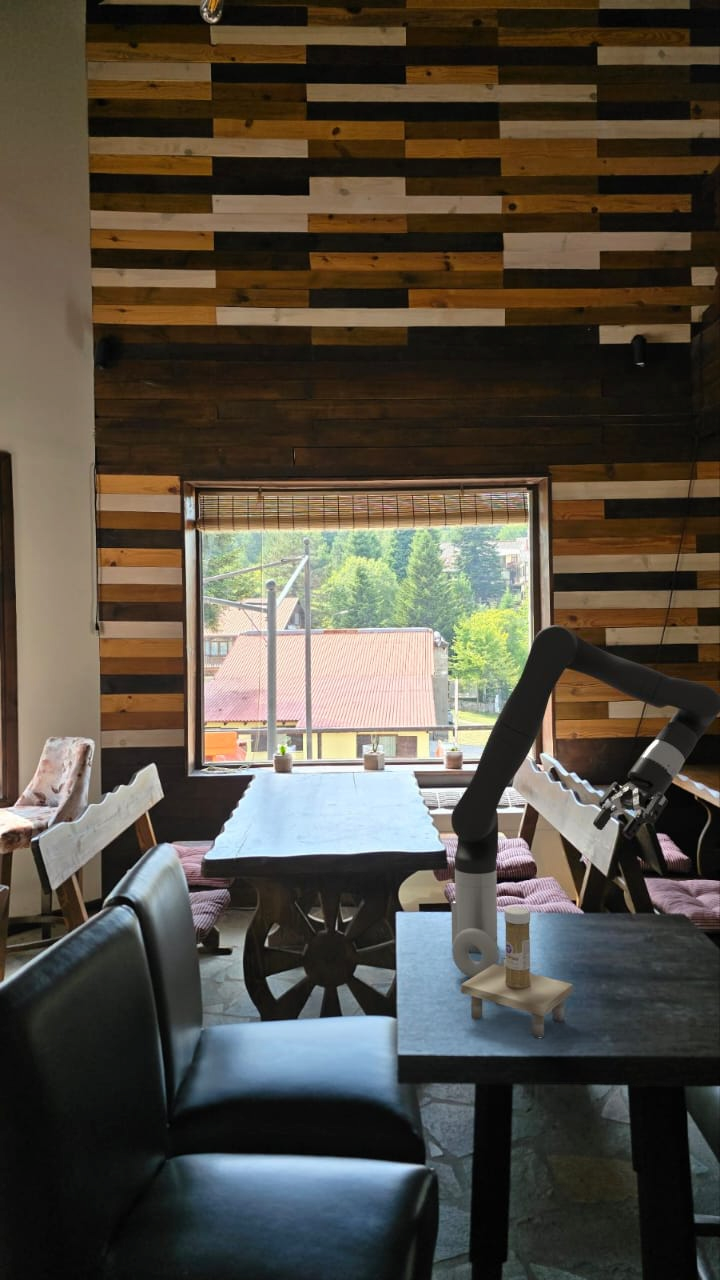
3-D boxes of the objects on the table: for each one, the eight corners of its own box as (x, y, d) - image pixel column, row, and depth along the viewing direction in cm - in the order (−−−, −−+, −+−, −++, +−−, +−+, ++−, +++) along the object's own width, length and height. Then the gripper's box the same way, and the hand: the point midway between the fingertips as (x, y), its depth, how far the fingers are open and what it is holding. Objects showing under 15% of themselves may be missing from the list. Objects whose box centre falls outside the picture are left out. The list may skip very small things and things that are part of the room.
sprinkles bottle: (500, 984, 149) (499, 909, 150) (515, 977, 152) (514, 903, 153) (520, 991, 146) (520, 915, 146) (536, 984, 149) (535, 909, 149)
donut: (502, 980, 166) (501, 930, 166) (495, 986, 163) (494, 935, 163) (456, 970, 171) (456, 922, 171) (449, 976, 168) (448, 927, 169)
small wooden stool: (461, 1018, 150) (461, 984, 150) (494, 995, 159) (493, 964, 159) (543, 1043, 140) (543, 1007, 140) (573, 1017, 149) (572, 984, 149)
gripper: (621, 751, 171) (576, 812, 167) (672, 760, 158) (625, 826, 153) (642, 775, 173) (598, 836, 169) (694, 786, 160) (648, 852, 155)
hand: (611, 831), depth 161 cm, fingers open, 8 cm apart
